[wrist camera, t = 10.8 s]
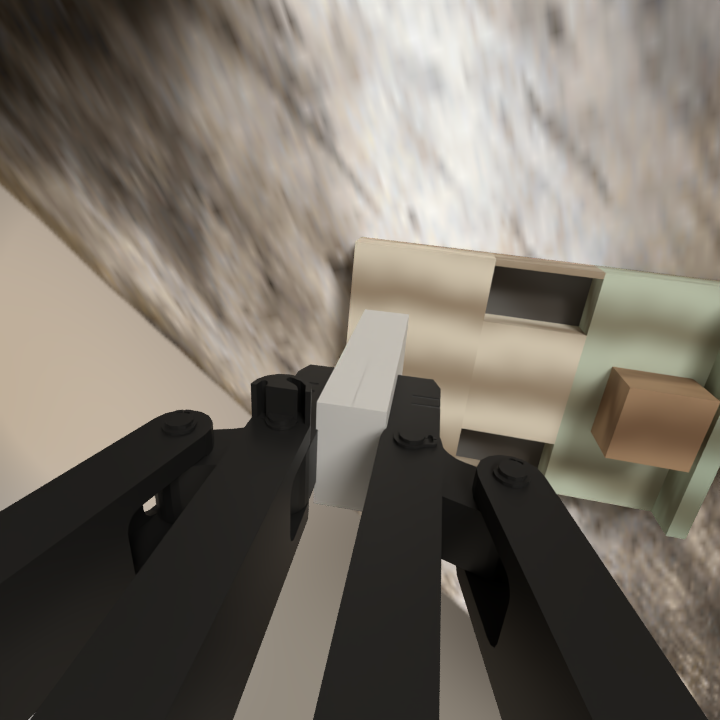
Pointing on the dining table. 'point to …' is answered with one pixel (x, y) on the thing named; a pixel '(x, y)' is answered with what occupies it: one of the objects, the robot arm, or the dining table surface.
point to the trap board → (548, 360)
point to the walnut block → (653, 418)
